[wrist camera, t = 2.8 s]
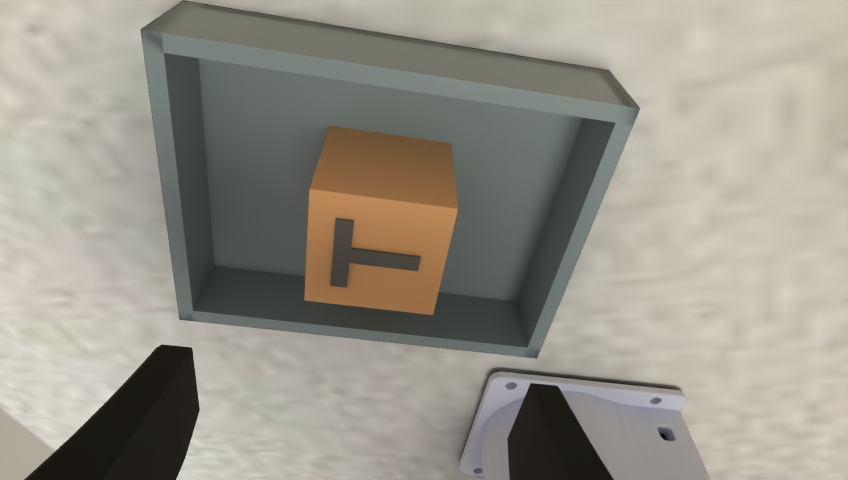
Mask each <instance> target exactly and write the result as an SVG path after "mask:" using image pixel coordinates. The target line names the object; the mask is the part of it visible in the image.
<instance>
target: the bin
mask: <svg viewBox="0 0 848 480" xmlns="http://www.w3.org/2000/svg"><path fill="white" fill-rule="evenodd" d="M140 30H141V37H142V44H143V52H144V59H145V67H146V74H147V82H148V89H149V97H150V104H151V111H152V119H153V126H154V134H155V141H156V149H157V156H158V163H159V171H160V178H161V186H162V193H163V201H164V208H165V216H166V223H167V230H168V238H169V245H170V253H171V260H172V268H173V275H174V283H175V290H176V297H177V305H178V312H179V320H188V321H197V322H207V323H216V324H225V325H234V326H243V327H253V328H262V329H271V330H280V331H289V332H299V333H308V334H317V335H326V336H335V337H345V338H354V339H363V340H372V341H381V342H391V343H400V344H409V345H418V346H427V347H437V348H446V349H455V350H464V351H473V352H483V353H492V354H501V355H510V356H519V357H529V358H537V357H538V355H539V352H540V350H541V348H542V345H543V343H544V340H545V338H546V335H547V333H548V331H549V328H550V326H551V323H552V321H553V319H554V316H555V314H556V311H557V309H558V306H559V304H560V302H561V299H562V297H563V294H564V292H565V289H566V287H567V285H568V282H569V280H570V277H571V275H572V272H573V270H574V268H575V265H576V263H577V260H578V258H579V256H580V253H581V251H582V248H583V246H584V243H585V241H586V239H587V236H588V234H589V231H590V229H591V226H592V224H593V222H594V219H595V217H596V214H597V212H598V209H599V207H600V205H601V202H602V200H603V197H604V195H605V193H606V190H607V188H608V185H609V183H610V180H611V178H612V176H613V173H614V171H615V168H616V166H617V163H618V161H619V159H620V156H621V154H622V151H623V149H624V146H625V144H626V142H627V139H628V137H629V134H630V132H631V130H632V127H633V125H634V122H635V120H636V117H637V115H638V113H639V110H640V107H639V106H638V105H637V104H636V103H635V101H634V100H633V99H632V98H631V96H630V95H629V94H628V93H627V92H626V90H625V89H624V88H623V87H622V85H621V84H620V83H619V82H618V80H617V79H616V78H615V77H614V76H613V74H612V73H611V72H610V71H609V70H603V69H597V68H591V67H585V66H578V65H572V64H566V63H560V62H554V61H548V60H542V59H536V58H530V57H524V56H517V55H511V54H505V53H499V52H493V51H487V50H481V49H475V48H469V47H463V46H456V45H450V44H444V43H438V42H432V41H426V40H420V39H414V38H408V37H402V36H395V35H389V34H383V33H377V32H371V31H365V30H359V29H353V28H347V27H341V26H335V25H328V24H322V23H316V22H310V21H304V20H298V19H292V18H286V17H280V16H274V15H267V14H261V13H255V12H249V11H243V10H237V9H231V8H225V7H219V6H213V5H206V4H200V3H194V2H188V1H181V2H180V3H178V4H177V5H176V6H174V7H173V8H171V9H170V10H168V11H167V12H165V13H164V14H162V15H161V16H159V17H158V18H157V19H155V20H154V21H152V22H151V23H149V24H148V25H146V26H145V27H143V28H142V29H140ZM329 126H337V127H344V128H351V129H357V130H364V131H371V132H378V133H385V134H392V135H399V136H405V137H412V138H419V139H426V140H433V141H440V142H446V143H451V145H452V155H453V165H454V175H455V184H456V194H457V204H458V211H457V215H456V220H455V224H454V228H453V232H452V237H451V241H450V245H449V249H448V254H447V258H446V262H445V266H444V271H443V275H442V279H441V283H440V288H439V292H438V296H437V300H436V305H435V309H434V313H433V315H428V314H419V313H410V312H401V311H393V310H384V309H375V308H366V307H358V306H349V305H340V304H331V303H323V302H314V301H305V300H304V296H305V274H306V253H307V232H308V211H309V189H310V186H311V183H312V180H313V176H314V173H315V170H316V167H317V164H318V161H319V157H320V154H321V151H322V148H323V145H324V142H325V138H326V135H327V132H328V129H329Z"/></svg>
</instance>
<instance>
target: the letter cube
mask: <svg viewBox="0 0 848 480" xmlns="http://www.w3.org/2000/svg"><path fill="white" fill-rule="evenodd" d="M457 211H458V204H457V194H456V184H455V175H454V165H453V155H452V145H451V143H446V142H440V141H433V140H426V139H419V138H412V137H405V136H399V135H392V134H385V133H378V132H371V131H364V130H357V129H351V128H344V127H337V126H329V129H328V132H327V135H326V138H325V142H324V145H323V148H322V151H321V154H320V157H319V161H318V164H317V167H316V170H315V173H314V176H313V180H312V183H311V186H310V189H309V211H308V232H307V253H306V274H305V296H304V300H305V301H314V302H323V303H331V304H340V305H349V306H358V307H366V308H375V309H384V310H393V311H401V312H410V313H419V314H428V315H433V313H434V309H435V305H436V300H437V296H438V292H439V288H440V283H441V279H442V275H443V271H444V266H445V262H446V258H447V254H448V249H449V245H450V241H451V237H452V232H453V228H454V224H455V220H456V215H457Z"/></svg>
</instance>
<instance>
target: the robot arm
mask: <svg viewBox="0 0 848 480" xmlns="http://www.w3.org/2000/svg"><path fill="white" fill-rule="evenodd" d="M509 382H512V383H509ZM685 403H686V398H685V395H684V393H683V392H682V391H679V390H672V389H662V388H653V387H643V386H634V385H624V384H615V383H605V382H596V381H586V380H577V379H568V378H558V377H549V376H539V375H530V374H520V373H511V372H495V373H493V374H492V375H491V376H490V377H489V380H488V383H487V385H486V388H485V391H484V394H483V397H482V400H481V403H480V405H479V408H478V411H477V414H476V417H475V420H474V423H473V426H472V428H471V431H470V434H469V437H468V440H467V443H466V446H465V448H464V451H463V454H462V457H461V460H460V463H459V469H460V472H461V473H462V474H465V475H473V476H484V480H711V479H710V477H709V475H708V472H707V470H706V468H705V466H704V464H703V461H702V459H701V457H700V455H699V453H698V450H697V448H696V446H695V444H694V441H693V439H692V437H691V435H690V433H689V430H688V428H687V426H686V424H685V422H684V419H683V417H682V415H681V413H680V410H681V409H682V407H683V406H684V404H685ZM198 413H199V401H198V393H197V385H196V377H195V368H194V360H193V352H192V348H190V347H180V346H170V345H160V346H159V347H157V348H156V349H155V350H154V351H153V352H152V353H151V355H150V356H149V357H148V358H147V359H146V360H145V361H144V362H143V363H142V365H141V366H140V367H139V368H138V369H137V370H136V371H135V372H134V373H133V374H132V375H131V377H130V378H129V379H128V380H127V381H126V382H125V383H124V384H123V385H122V386H121V387H120V388H119V389H118V390H117V391H116V392H115V393H114V395H113V396H112V397H111V398H110V399H109V400H108V401H107V402H106V403H105V404H104V405H103V406H102V407H101V408H100V409H99V410H98V411H97V412H96V413H95V414H94V415H93V416H92V417H91V418H90V419H89V420H88V421H87V422H86V423H85V424H84V425H83V426H82V427H81V428H80V429H79V430H78V431H77V432H76V433H75V434H74V435H73V436H71V437H70V438H69V439H68V440H67V441H66V442H65V443H64V444H63V445H62V446H61V447H60V448H59V449H57V450H56V451H55V452H54V453H53V454H52V455H51V456H50V457H49V458H48V459H46V460H45V461H44V462H43V463H42V464H41V465H40V466H39V467H38V468H37V469H36V470H34V471H33V472H32V473H31V474H30V475H29V476H28V477H27V478H26V479H24V480H176V478H177V476H178V474H179V471H180V469H181V466H182V464H183V462H184V459H185V456H186V453H187V450H188V447H189V444H190V440H191V437H192V434H193V430H194V427H195V424H196V420H197V417H198Z"/></svg>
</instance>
